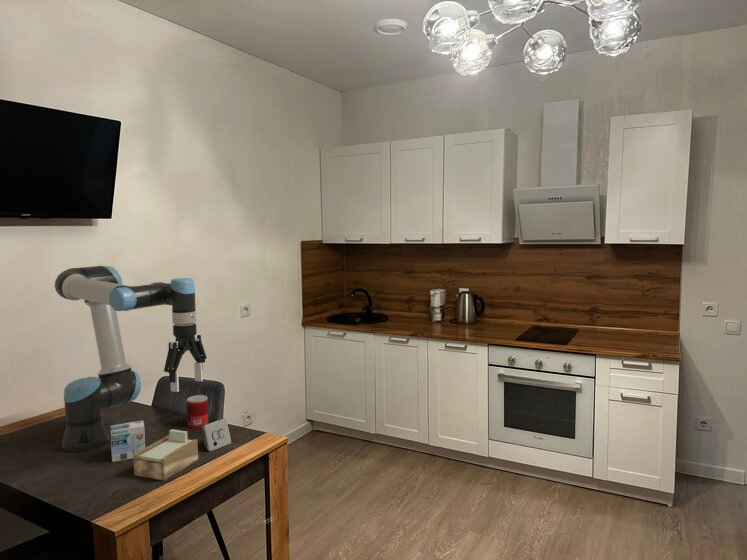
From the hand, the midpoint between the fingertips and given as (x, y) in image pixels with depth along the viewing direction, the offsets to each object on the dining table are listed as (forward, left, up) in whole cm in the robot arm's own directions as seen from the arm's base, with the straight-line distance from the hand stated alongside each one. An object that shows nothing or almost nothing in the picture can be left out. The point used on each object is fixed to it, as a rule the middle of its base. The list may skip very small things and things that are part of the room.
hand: (187, 385), depth 181 cm
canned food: (-15, +23, -24) cm, 36 cm away
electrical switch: (+5, +8, -24) cm, 26 cm away
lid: (0, -12, -19) cm, 22 cm away
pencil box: (0, -11, -24) cm, 27 cm away
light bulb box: (-19, -8, -24) cm, 32 cm away
